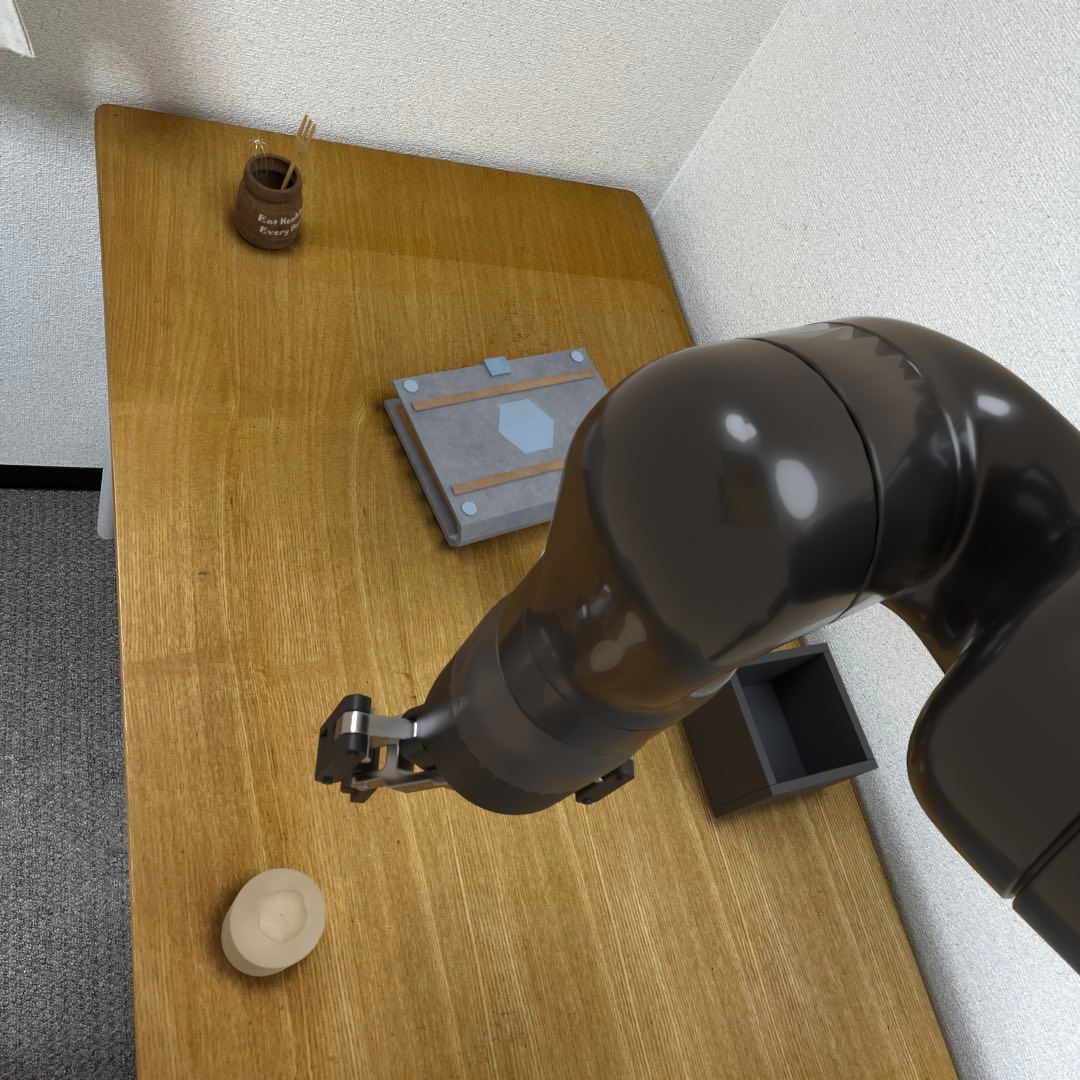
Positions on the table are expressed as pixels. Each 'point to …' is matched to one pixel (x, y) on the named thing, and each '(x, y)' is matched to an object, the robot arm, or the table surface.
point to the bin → (778, 731)
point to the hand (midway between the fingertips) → (437, 789)
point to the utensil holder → (272, 195)
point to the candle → (273, 922)
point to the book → (494, 438)
